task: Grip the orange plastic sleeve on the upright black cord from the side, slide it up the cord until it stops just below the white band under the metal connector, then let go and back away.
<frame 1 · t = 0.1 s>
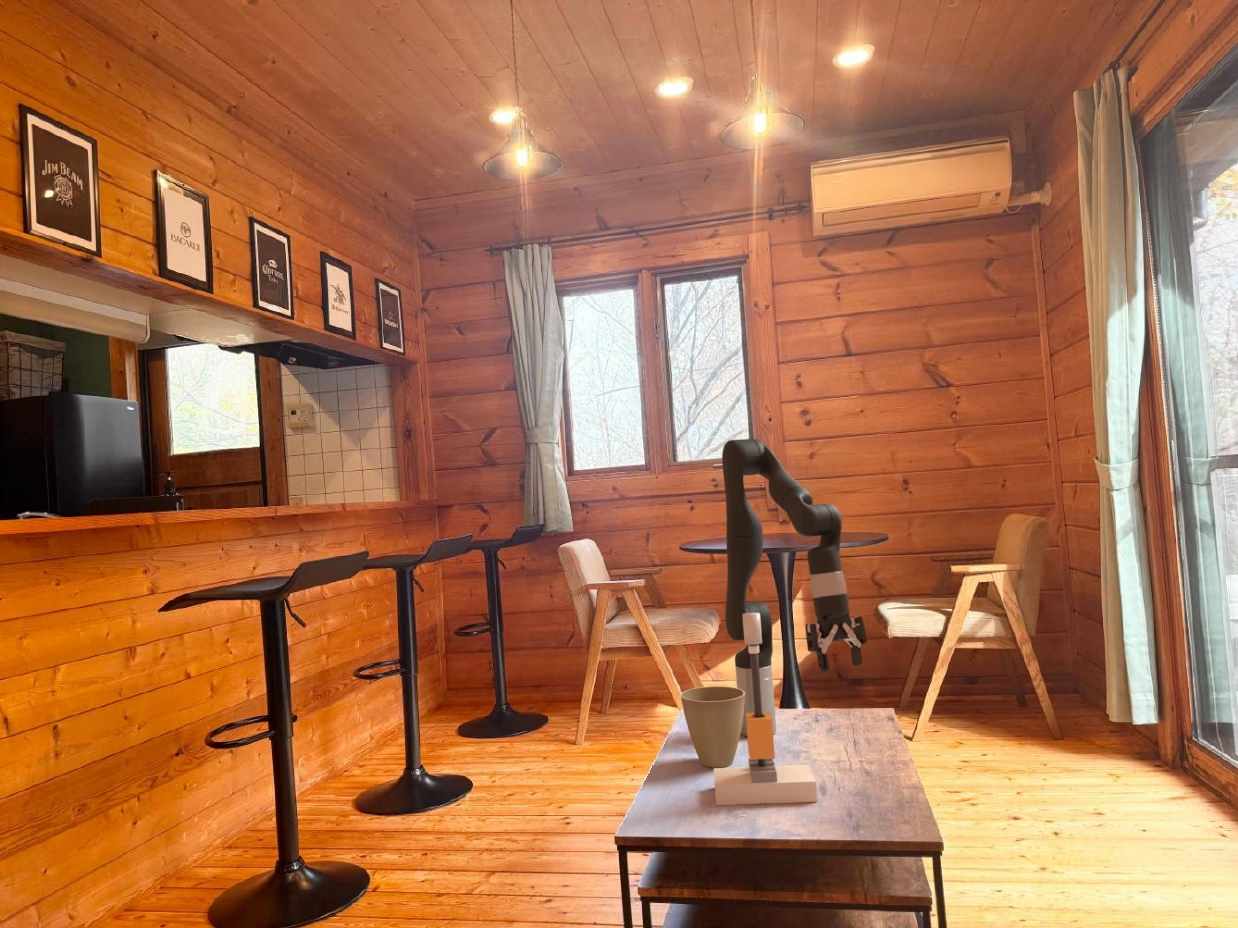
hand: (841, 668, 183), 22 cm above the table, tool pointing down, fingers open, 8 cm apart
sleeve: (760, 735, 172), point 12 cm above the table, slide at 0.0 cm
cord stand: (764, 794, 172), on the table
plant pot: (717, 763, 194), on the table
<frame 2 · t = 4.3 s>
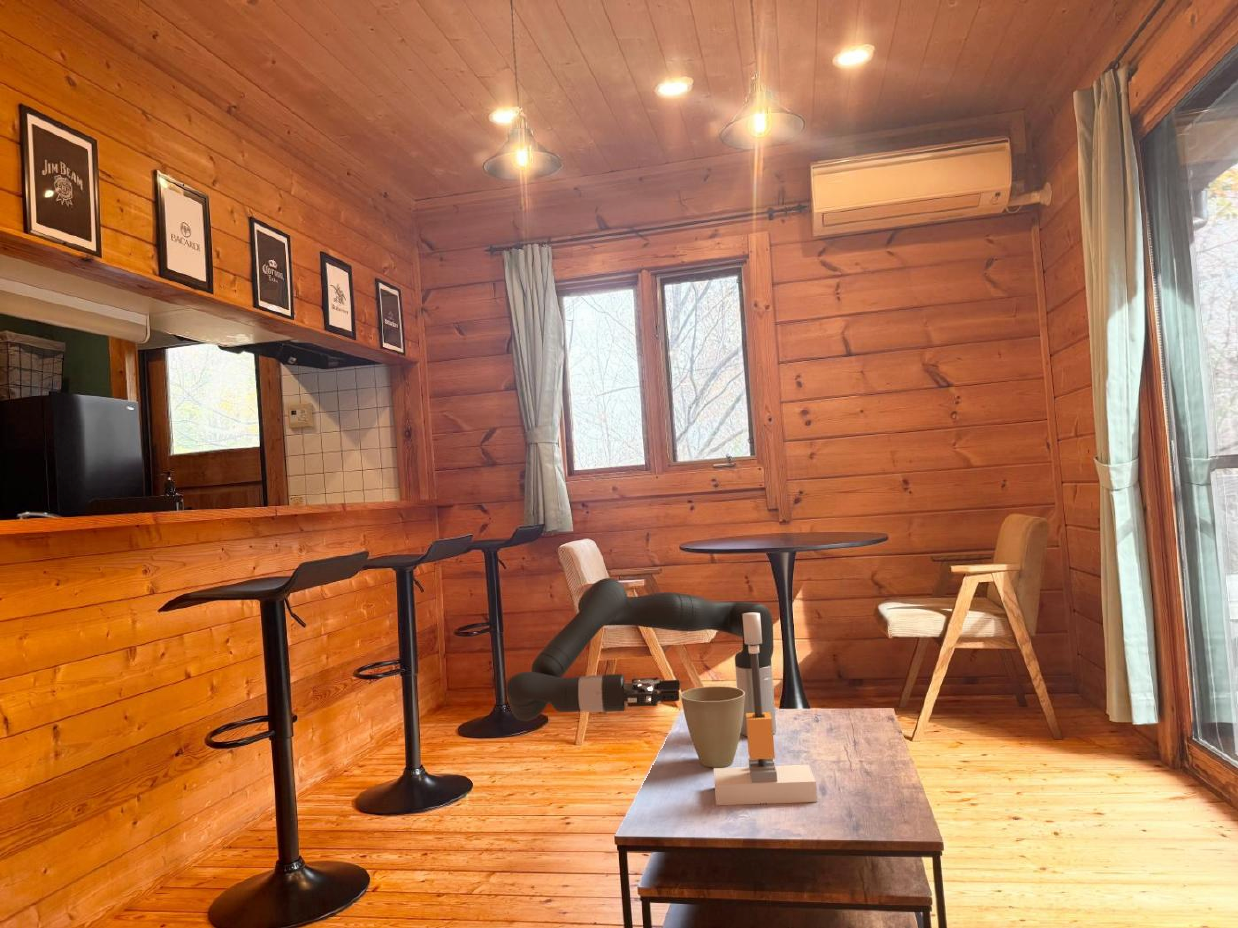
hand: (679, 689, 174), 22 cm above the table, tool horizontal, fingers open, 8 cm apart
nothing on the table moved.
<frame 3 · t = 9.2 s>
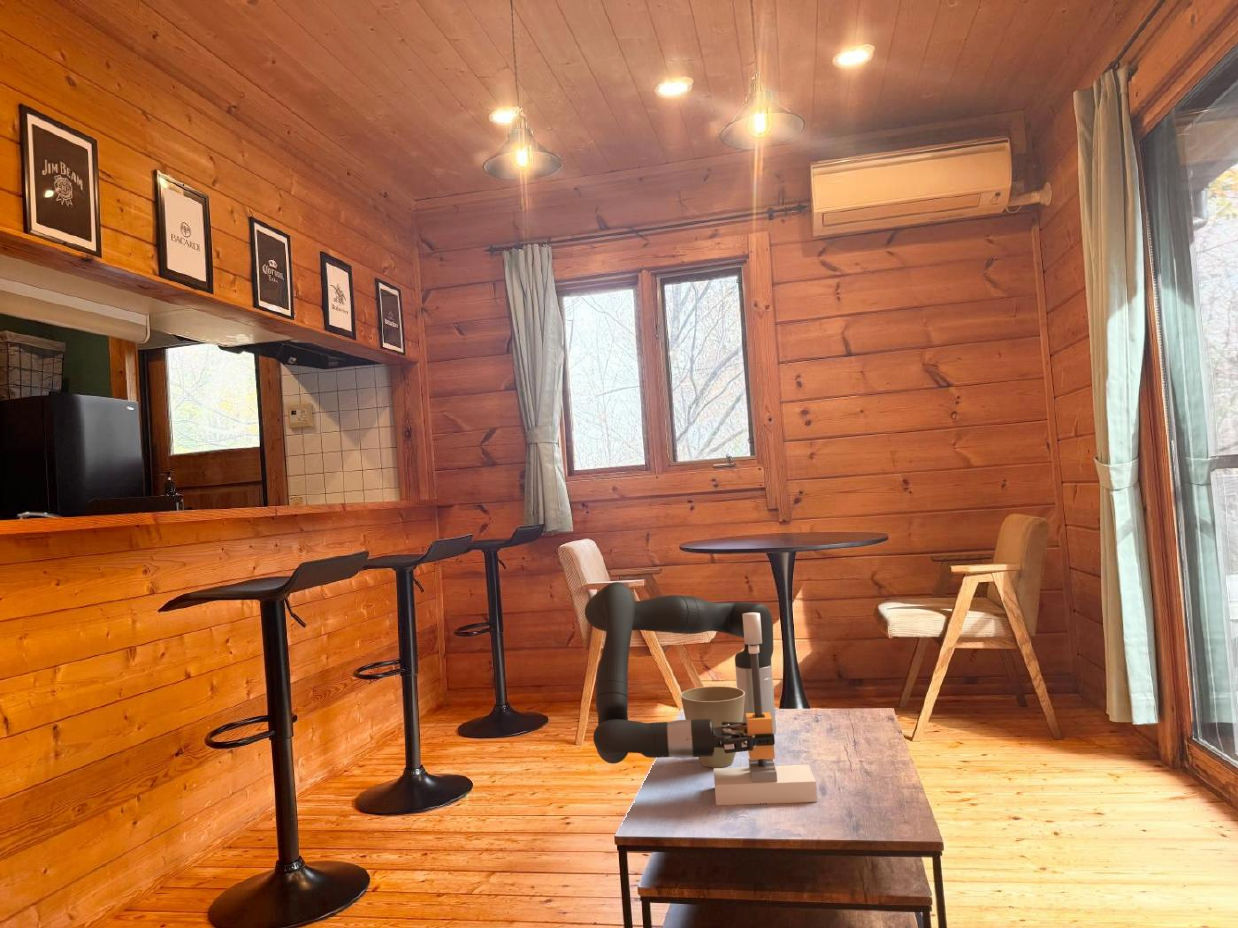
hand: (772, 734, 172), 12 cm above the table, tool horizontal, fingers closed on sleeve, 5 cm apart
sleeve: (760, 735, 172), point 12 cm above the table, slide at 0.0 cm, touching gripper
everything else where it was.
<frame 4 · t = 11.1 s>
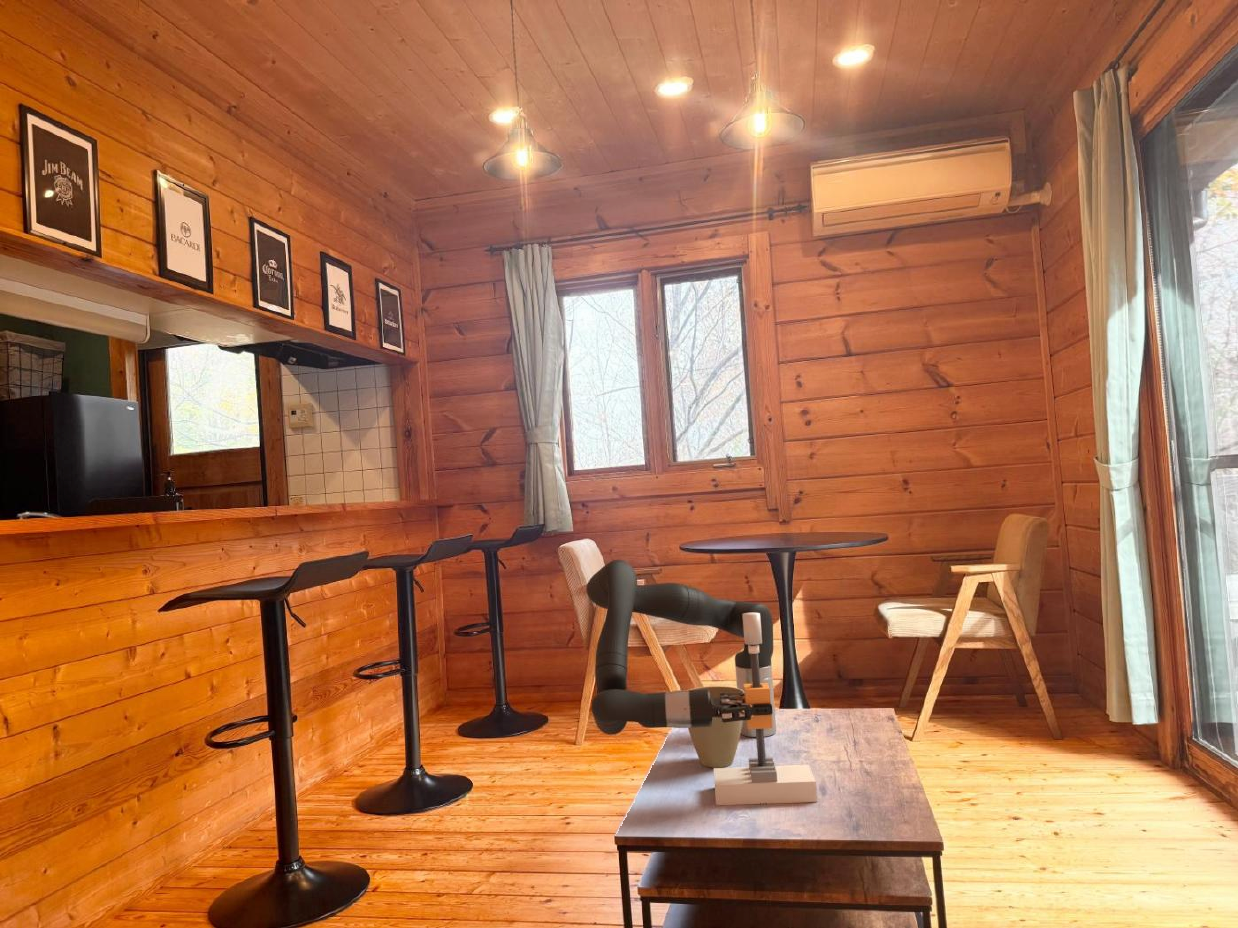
hand: (770, 705, 172), 18 cm above the table, tool horizontal, fingers closed on sleeve, 5 cm apart
sleeve: (757, 705, 173), point 18 cm above the table, slide at 6.1 cm, touching gripper
everything else where it was.
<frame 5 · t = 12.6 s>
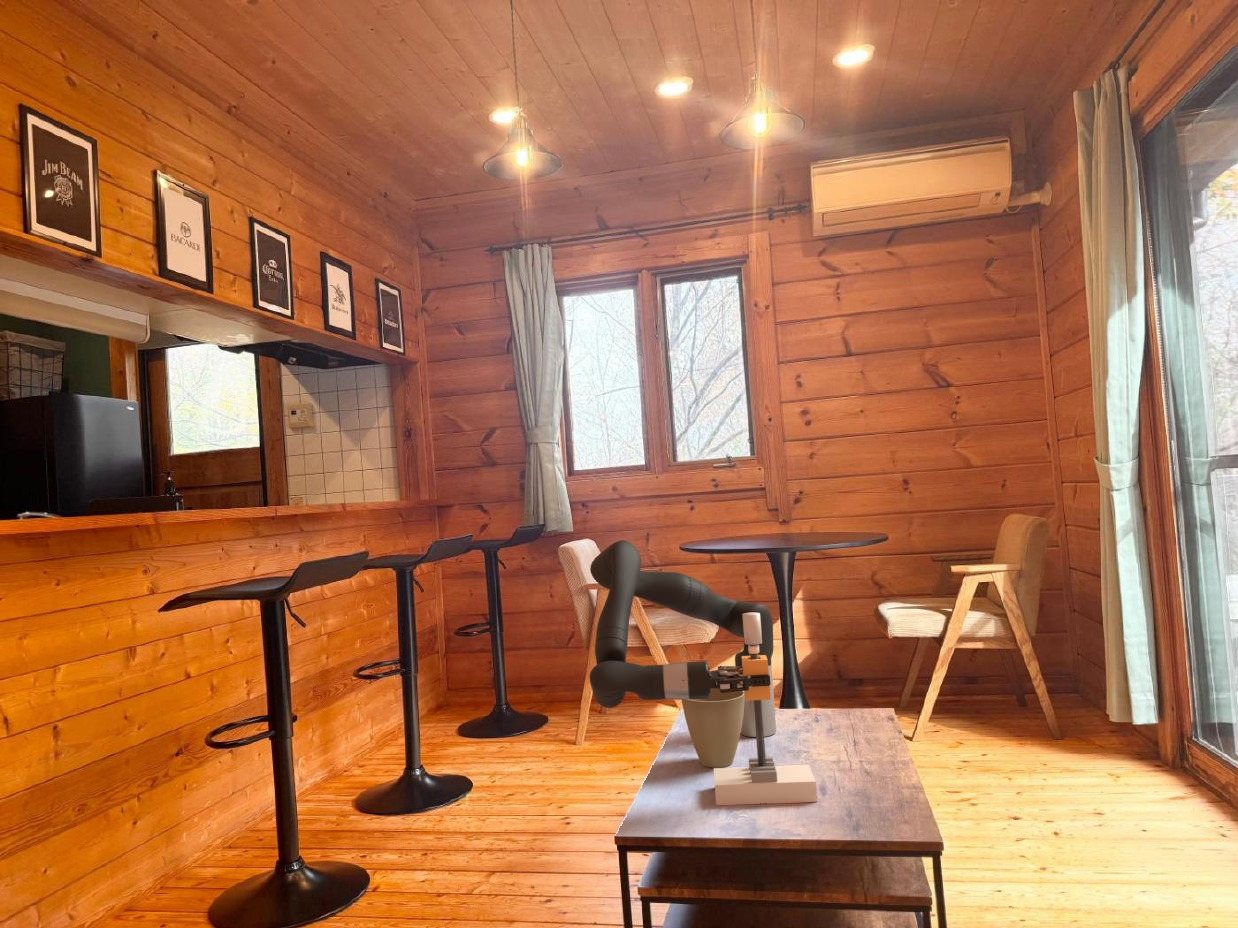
hand: (768, 676, 173), 24 cm above the table, tool horizontal, fingers closed on sleeve, 5 cm apart
sleeve: (755, 677, 173), point 24 cm above the table, slide at 11.9 cm, touching gripper
everything else where it was.
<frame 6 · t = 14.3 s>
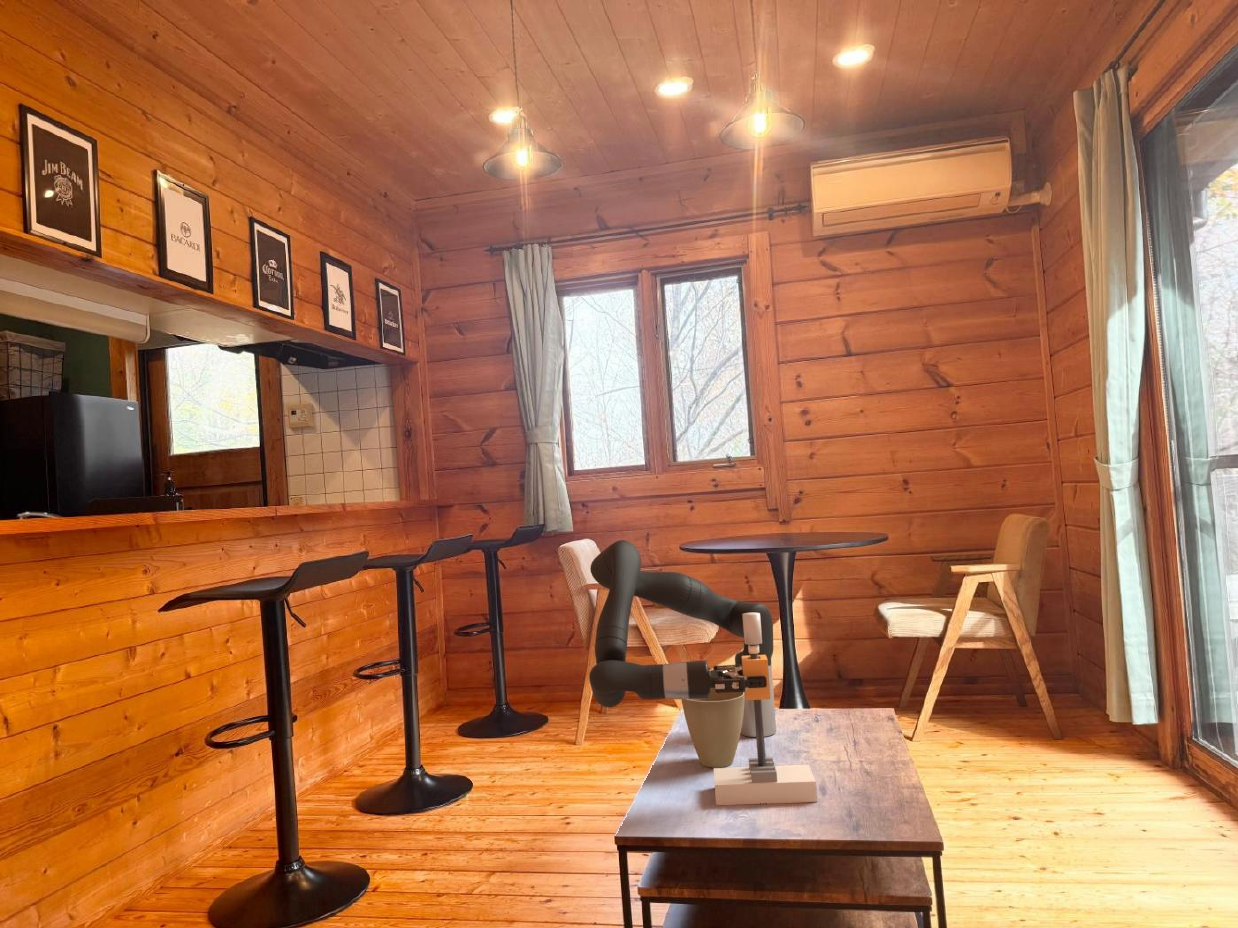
hand: (764, 676, 173), 24 cm above the table, tool horizontal, fingers open, 8 cm apart
sleeve: (755, 677, 173), point 24 cm above the table, slide at 12.0 cm
everything else where it was.
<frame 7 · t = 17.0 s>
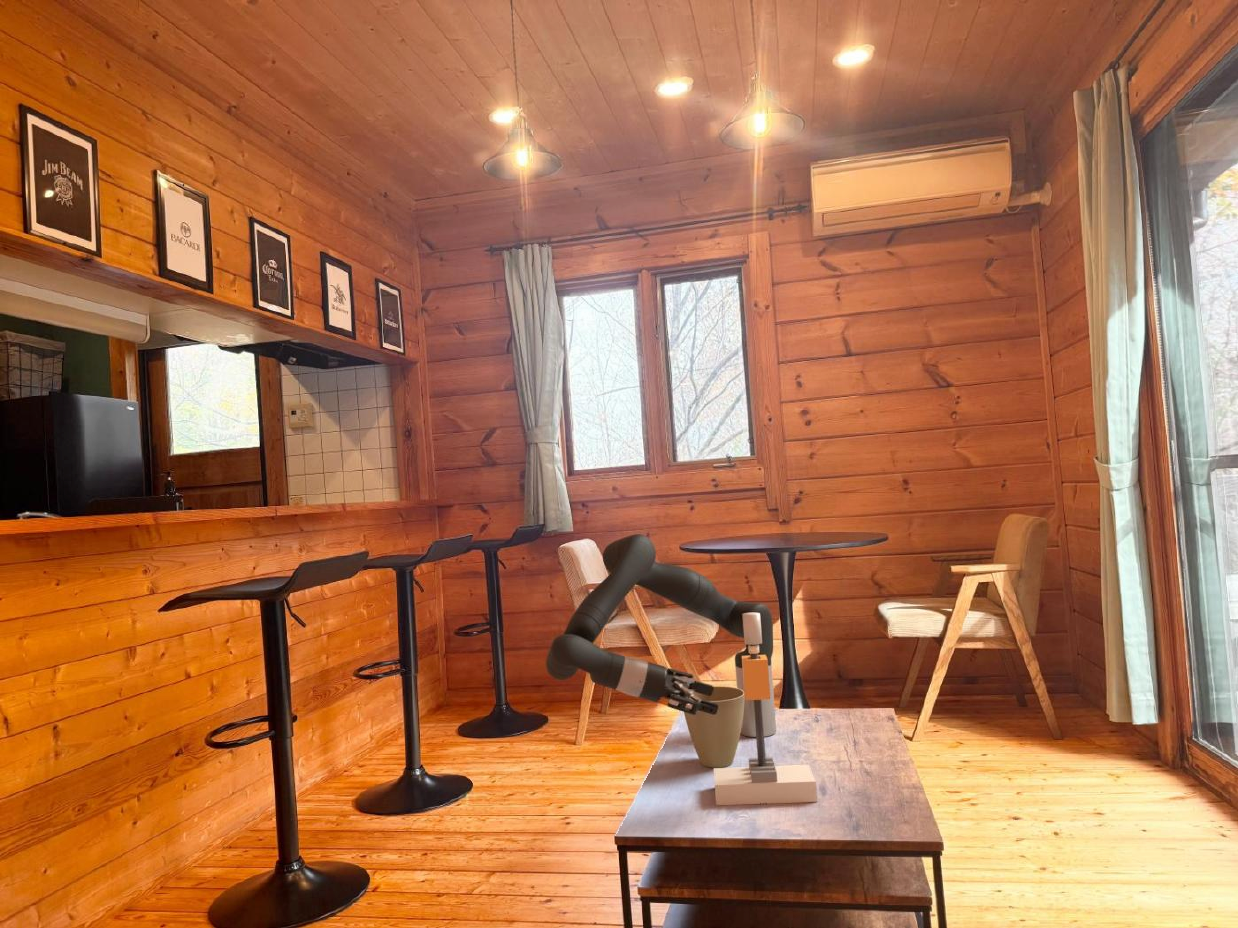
hand: (714, 700, 175), 19 cm above the table, tool tilted 70°, fingers open, 8 cm apart
nothing on the table moved.
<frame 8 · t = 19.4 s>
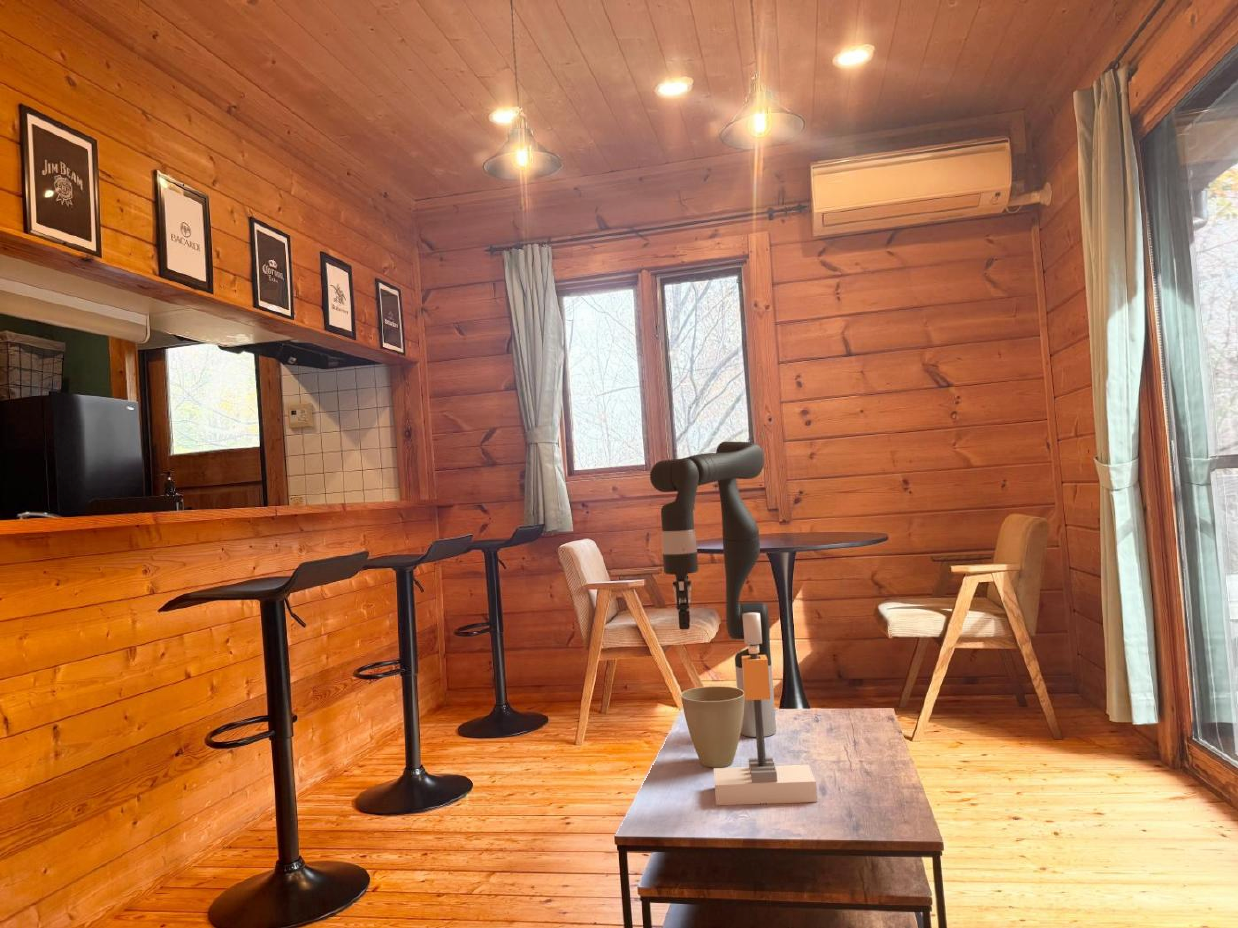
hand: (684, 625, 181), 34 cm above the table, tool pointing down, fingers open, 8 cm apart
nothing on the table moved.
at the end: sleeve slide at 12.0 cm; the gripper is holding nothing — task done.
